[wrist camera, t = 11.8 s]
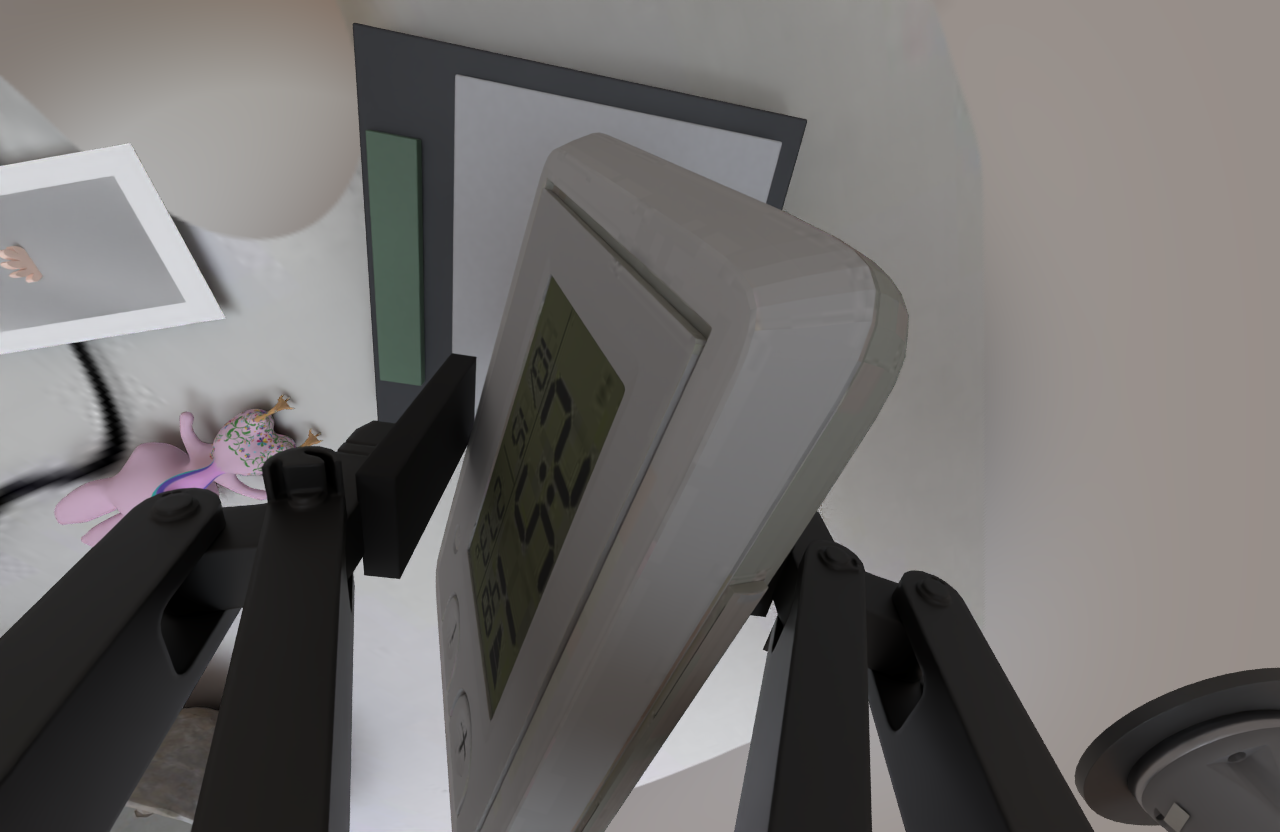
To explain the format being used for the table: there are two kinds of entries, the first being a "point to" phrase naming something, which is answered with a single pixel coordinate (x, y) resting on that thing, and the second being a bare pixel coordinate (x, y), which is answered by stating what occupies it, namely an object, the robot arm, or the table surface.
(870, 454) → the table surface
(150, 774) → the ceramic bowl
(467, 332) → the scale
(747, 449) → the digital clock
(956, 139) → the table surface
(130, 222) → the touchpad
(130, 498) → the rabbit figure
